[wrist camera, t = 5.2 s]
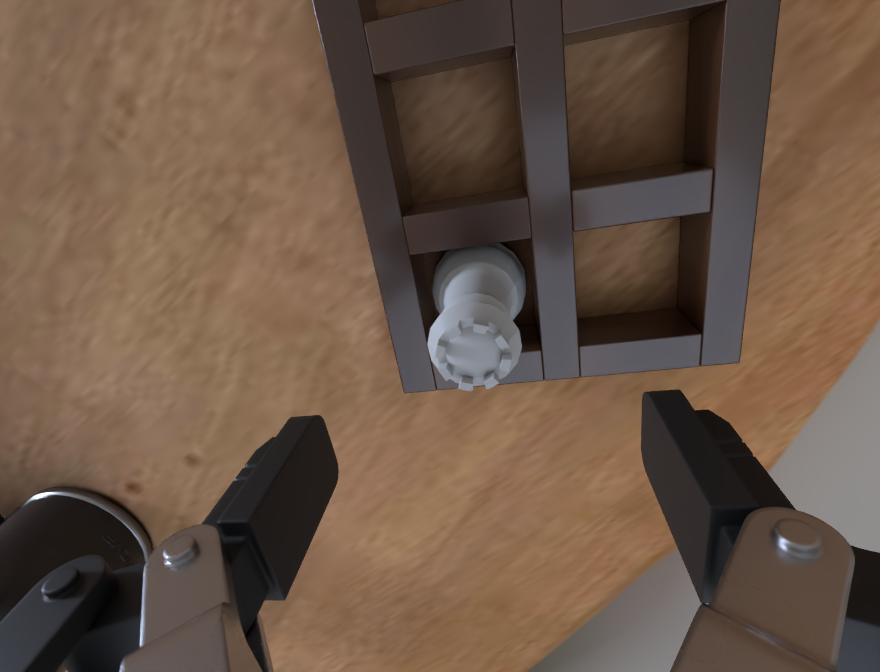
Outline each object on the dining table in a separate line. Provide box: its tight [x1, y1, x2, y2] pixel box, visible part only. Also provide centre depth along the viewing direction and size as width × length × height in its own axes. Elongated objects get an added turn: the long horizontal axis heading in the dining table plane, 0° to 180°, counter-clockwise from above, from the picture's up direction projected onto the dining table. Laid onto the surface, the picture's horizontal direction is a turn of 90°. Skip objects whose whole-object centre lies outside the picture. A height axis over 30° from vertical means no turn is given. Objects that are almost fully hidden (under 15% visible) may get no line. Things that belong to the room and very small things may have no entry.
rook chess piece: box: [427, 243, 527, 392], centre depth 18 cm, size 4×4×8 cm
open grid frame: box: [312, 0, 781, 393], centre depth 18 cm, size 15×21×3 cm
